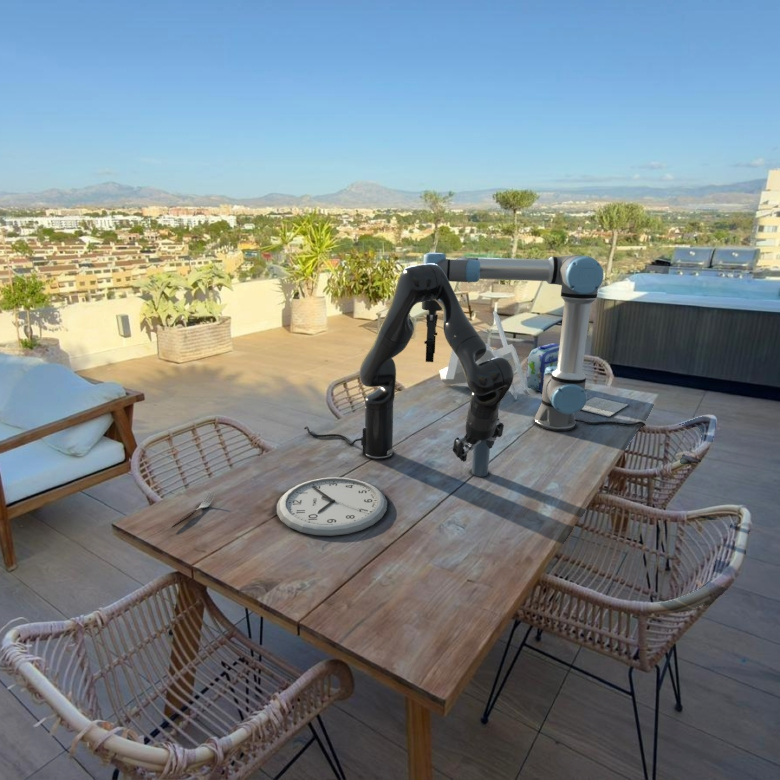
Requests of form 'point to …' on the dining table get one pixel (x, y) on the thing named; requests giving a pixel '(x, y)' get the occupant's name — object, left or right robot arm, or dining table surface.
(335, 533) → the wall clock
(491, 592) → the dining table surface
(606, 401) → the invitation card
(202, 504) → the fork
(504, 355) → the white plastic object
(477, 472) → the jar
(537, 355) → the lunch box
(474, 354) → the left robot arm
